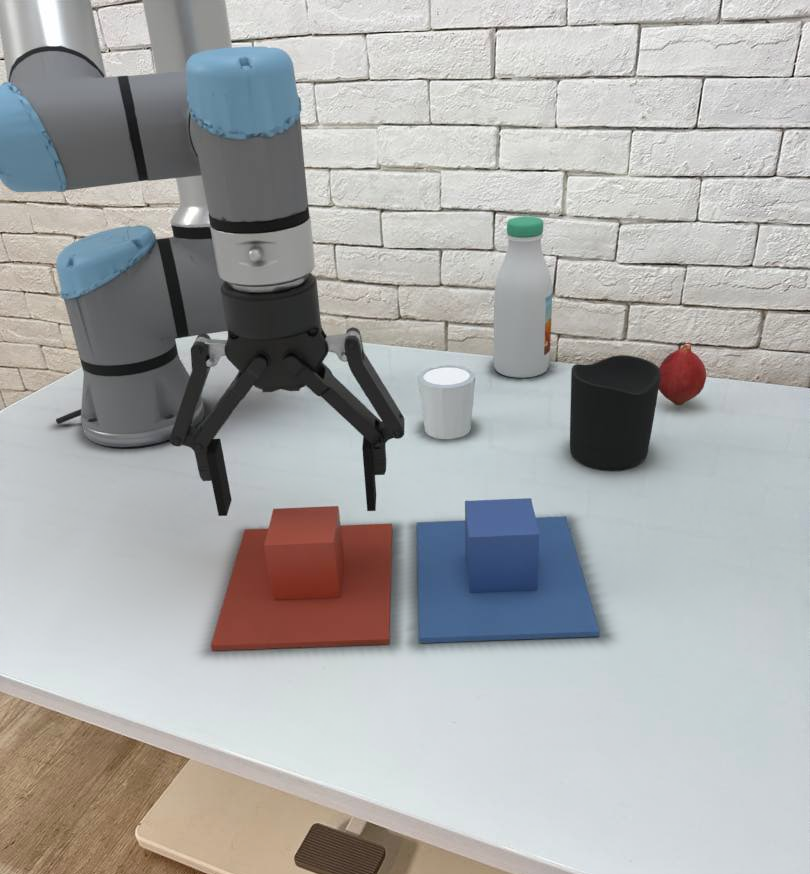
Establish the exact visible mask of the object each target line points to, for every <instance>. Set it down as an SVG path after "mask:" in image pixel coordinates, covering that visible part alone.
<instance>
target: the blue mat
mask: <svg viewBox="0 0 810 874" xmlns="http://www.w3.org/2000/svg"><path fill="white" fill-rule="evenodd" d="M536 521H537V526H538V530H539V534H540V536H539V558H538V580H537V590H532V591H506V592H480V593H470V592H469V584H468V574H467V564H466V553H465V520H443V521H418V522H416V553H417V554H416V555H417V557H416V558H417V559H416V561H417V604H418V607H417V609H418V610H417V611H418V643H419V644H427V643H429V644H430V643H459V642H483V641H484V642H486V641H507V640H508V641H509V640H510V641H511V640H536V639H563V638H564V639H566V638H567V639H568V638H591V637H592V638H593V637H596V638H597V637H600V627H599V625H598V621H597V617H596V614H595V611H594V607H593V604H592V601H591V597H590V594H589V590H588V586H587V584H586V579H585V577H584V573H583V571H582V566H581V563H580V560H579V557H578V556H579V555H578V553H577V550H576V547H575V546H576V545H575V543H574V540H573V536H572V532H571V528H570V526H569V522H568V519H567V516H565V515H564V516H545V517H544V516H543V517H536Z"/></svg>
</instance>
